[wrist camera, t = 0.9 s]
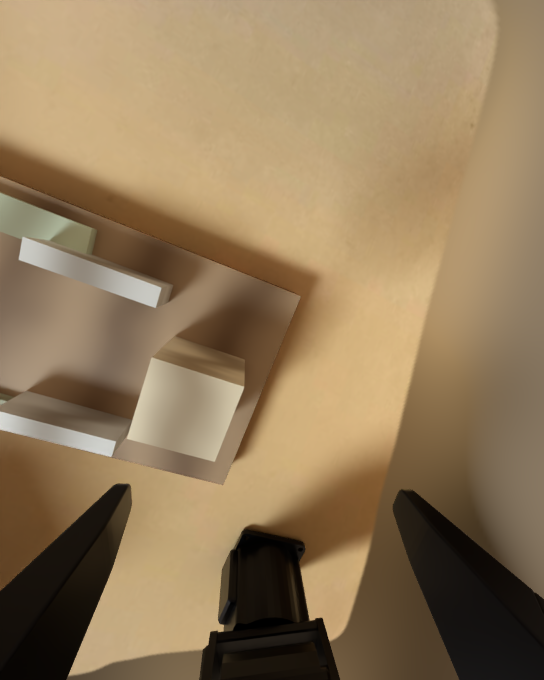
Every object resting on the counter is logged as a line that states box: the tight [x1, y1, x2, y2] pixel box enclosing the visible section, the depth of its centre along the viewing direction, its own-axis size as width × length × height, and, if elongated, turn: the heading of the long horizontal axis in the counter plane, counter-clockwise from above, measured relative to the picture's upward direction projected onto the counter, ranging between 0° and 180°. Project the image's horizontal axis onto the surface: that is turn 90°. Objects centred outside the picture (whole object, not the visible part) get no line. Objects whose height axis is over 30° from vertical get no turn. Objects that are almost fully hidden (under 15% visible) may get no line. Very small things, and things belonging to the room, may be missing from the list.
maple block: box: [127, 336, 245, 462], centre depth 17 cm, size 5×5×4 cm
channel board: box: [0, 176, 301, 485], centre depth 17 cm, size 30×16×4 cm, turn 68°
